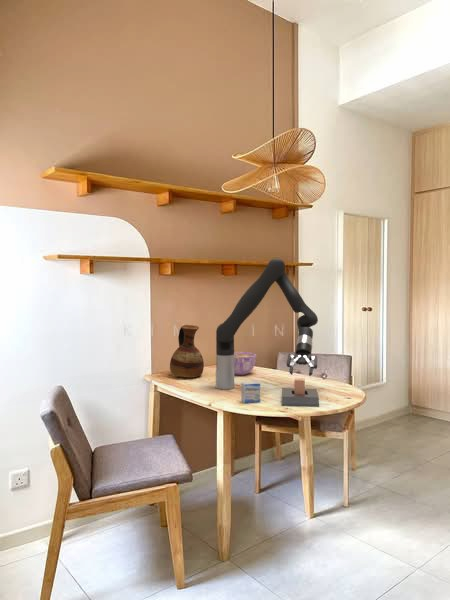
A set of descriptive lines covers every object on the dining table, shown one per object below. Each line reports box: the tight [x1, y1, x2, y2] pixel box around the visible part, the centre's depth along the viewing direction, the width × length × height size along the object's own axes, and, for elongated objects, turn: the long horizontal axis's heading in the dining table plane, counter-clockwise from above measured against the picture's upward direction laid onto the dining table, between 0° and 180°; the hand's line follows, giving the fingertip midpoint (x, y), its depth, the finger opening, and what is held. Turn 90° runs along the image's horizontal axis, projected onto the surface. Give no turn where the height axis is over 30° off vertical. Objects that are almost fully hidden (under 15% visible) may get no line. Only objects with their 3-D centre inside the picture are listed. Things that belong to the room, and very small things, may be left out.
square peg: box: [293, 377, 306, 395], centre depth 205 cm, size 4×4×9 cm
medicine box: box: [240, 381, 261, 404], centre depth 204 cm, size 8×4×9 cm, turn 105°
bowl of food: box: [234, 351, 257, 376], centre depth 267 cm, size 20×20×12 cm
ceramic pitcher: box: [169, 324, 205, 379], centre depth 261 cm, size 20×20×30 cm
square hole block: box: [281, 387, 320, 408], centre depth 205 cm, size 16×16×4 cm
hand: (300, 374), depth 208 cm, fingers open, 8 cm apart
